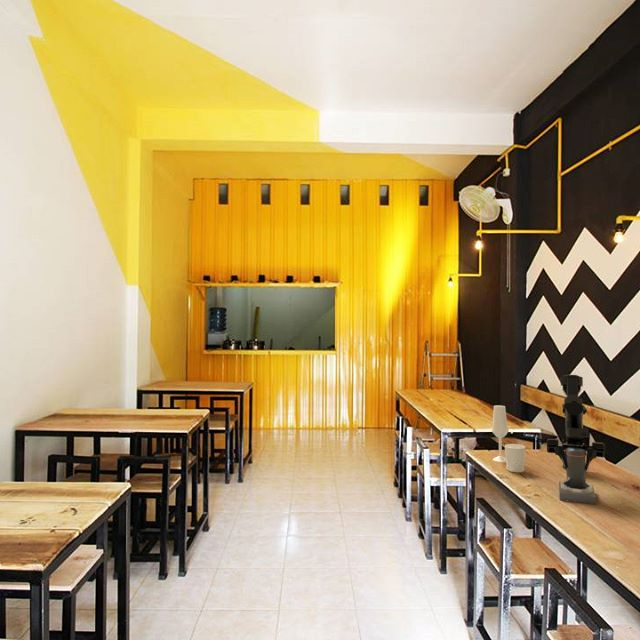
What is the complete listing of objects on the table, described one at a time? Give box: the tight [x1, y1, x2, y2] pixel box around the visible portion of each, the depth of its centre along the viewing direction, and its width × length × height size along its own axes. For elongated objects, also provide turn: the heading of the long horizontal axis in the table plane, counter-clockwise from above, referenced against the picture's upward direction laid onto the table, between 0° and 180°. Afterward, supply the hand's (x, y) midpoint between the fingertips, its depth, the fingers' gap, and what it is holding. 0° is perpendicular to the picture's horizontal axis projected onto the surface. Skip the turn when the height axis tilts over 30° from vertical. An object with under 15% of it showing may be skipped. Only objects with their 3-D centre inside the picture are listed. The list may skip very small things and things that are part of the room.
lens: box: [566, 448, 587, 489], centre depth 175 cm, size 6×6×13 cm
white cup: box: [504, 443, 526, 473], centre depth 206 cm, size 8×8×10 cm
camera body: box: [558, 479, 597, 505], centre depth 175 cm, size 13×11×4 cm
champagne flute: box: [491, 404, 509, 463], centre depth 221 cm, size 7×7×24 cm
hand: (576, 469), depth 174 cm, fingers closed on lens, 6 cm apart
